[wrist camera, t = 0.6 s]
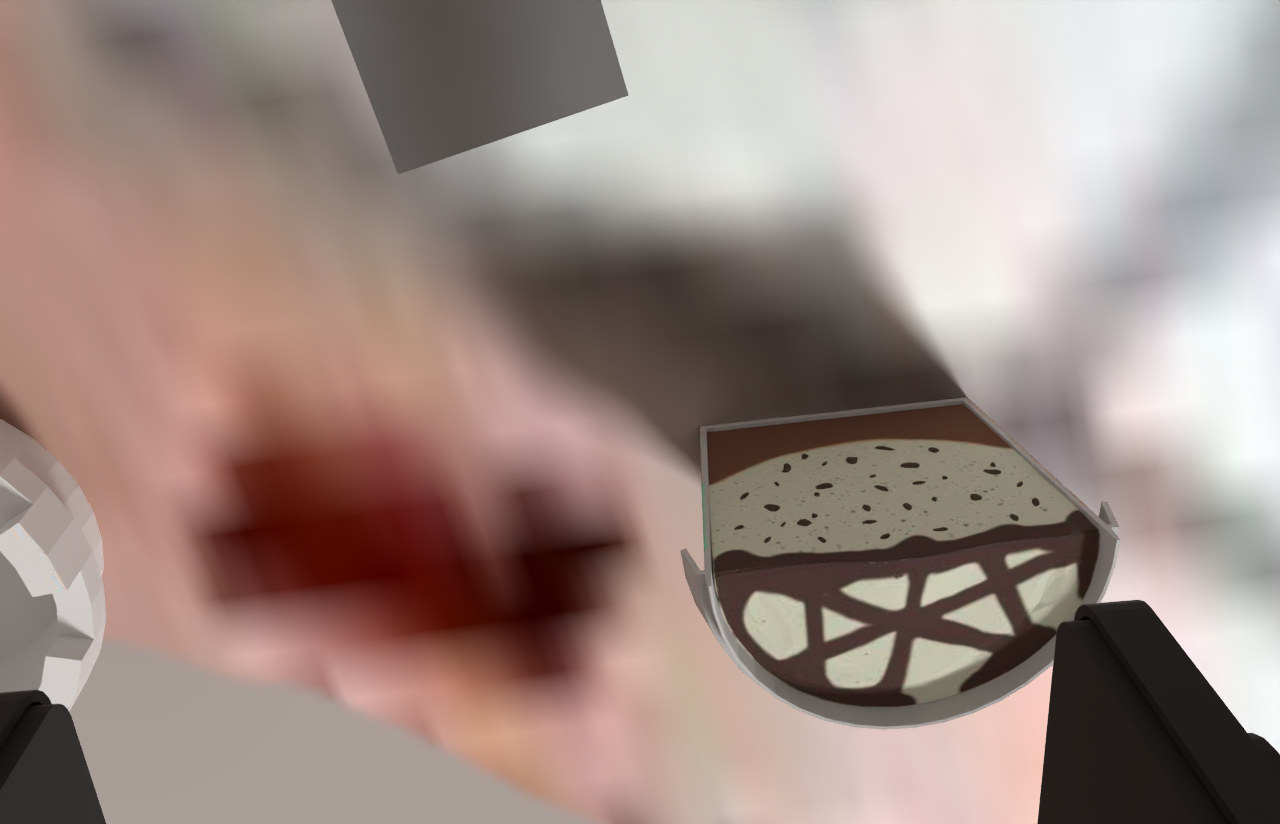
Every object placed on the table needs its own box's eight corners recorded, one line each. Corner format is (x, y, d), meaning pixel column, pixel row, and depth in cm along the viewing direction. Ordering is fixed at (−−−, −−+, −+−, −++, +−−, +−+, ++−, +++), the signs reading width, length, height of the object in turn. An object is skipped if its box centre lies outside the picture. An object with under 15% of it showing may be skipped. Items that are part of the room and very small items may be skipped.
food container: (669, 582, 44) (702, 769, 35) (656, 430, 41) (688, 588, 32) (1002, 544, 44) (1121, 719, 35) (1009, 392, 42) (1139, 537, 33)
